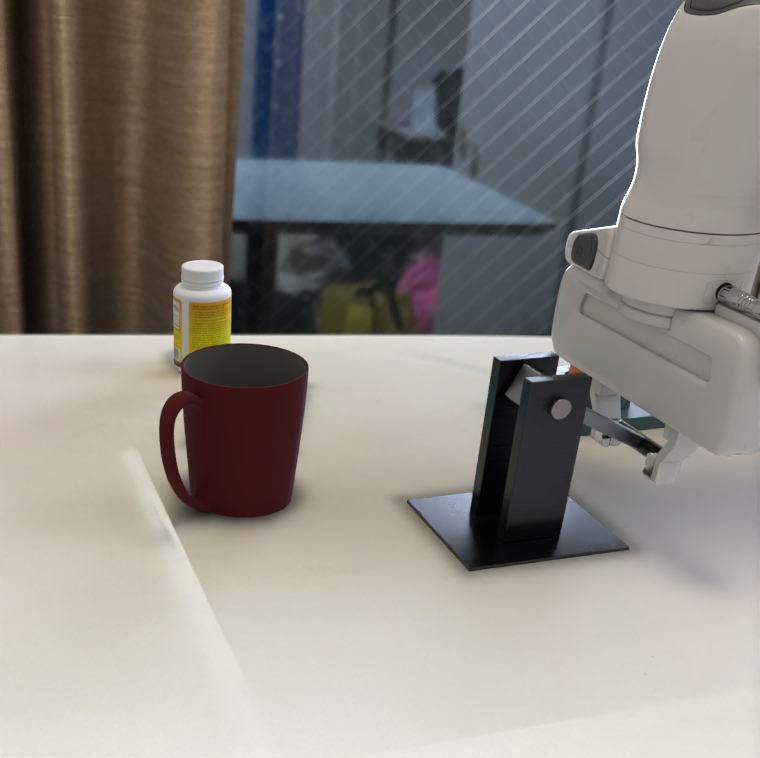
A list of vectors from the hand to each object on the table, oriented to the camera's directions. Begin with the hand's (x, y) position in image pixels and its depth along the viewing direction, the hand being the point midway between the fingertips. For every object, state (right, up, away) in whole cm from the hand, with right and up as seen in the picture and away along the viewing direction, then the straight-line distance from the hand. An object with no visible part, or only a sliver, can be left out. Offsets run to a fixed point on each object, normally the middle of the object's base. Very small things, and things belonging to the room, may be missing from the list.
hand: (630, 460), depth 74 cm
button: (+3, +8, +17) cm, 19 cm away
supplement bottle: (-31, +11, +29) cm, 44 cm away
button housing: (+3, +5, +19) cm, 20 cm away
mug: (-29, -4, +3) cm, 29 cm away
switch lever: (-5, +2, -3) cm, 6 cm away
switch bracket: (-8, -5, 0) cm, 10 cm away
